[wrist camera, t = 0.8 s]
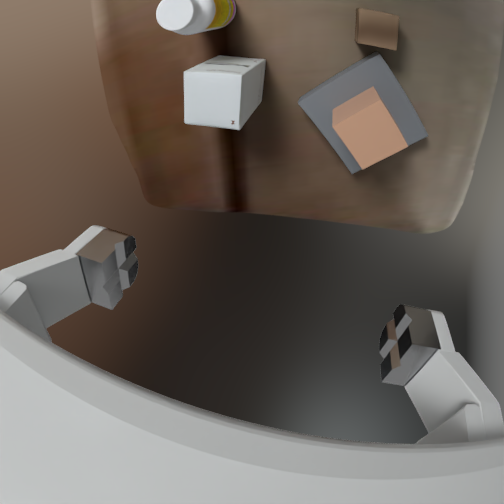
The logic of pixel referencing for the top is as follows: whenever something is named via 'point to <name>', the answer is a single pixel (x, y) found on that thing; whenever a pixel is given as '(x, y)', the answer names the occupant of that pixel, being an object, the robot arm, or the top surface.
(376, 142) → the terracotta block
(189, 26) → the supplement bottle
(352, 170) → the base slab
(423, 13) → the top surface
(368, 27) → the walnut block
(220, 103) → the supplement box
